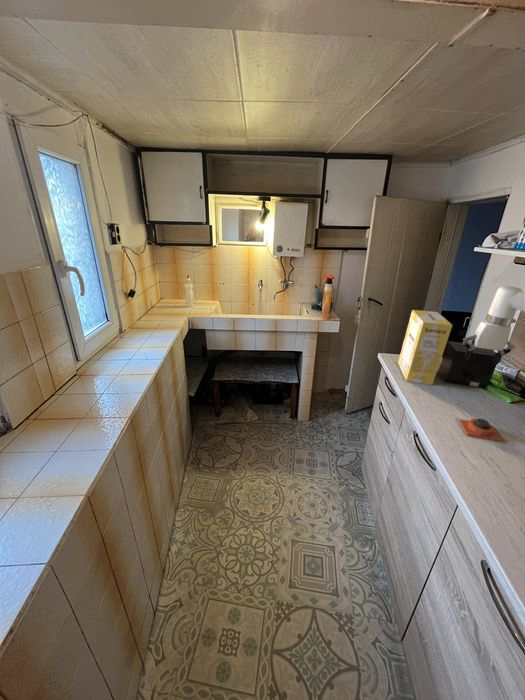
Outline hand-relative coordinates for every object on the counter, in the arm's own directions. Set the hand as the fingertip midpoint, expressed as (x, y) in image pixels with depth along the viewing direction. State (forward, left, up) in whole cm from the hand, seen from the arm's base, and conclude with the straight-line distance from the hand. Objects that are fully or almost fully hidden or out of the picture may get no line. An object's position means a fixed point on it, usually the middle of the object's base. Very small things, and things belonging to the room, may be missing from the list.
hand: (480, 361), depth 112 cm
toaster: (0, -10, -15) cm, 18 cm away
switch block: (+6, +28, -15) cm, 32 cm away
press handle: (0, -1, -11) cm, 11 cm away
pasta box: (+19, -9, -15) cm, 26 cm away
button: (+6, +28, -12) cm, 31 cm away
